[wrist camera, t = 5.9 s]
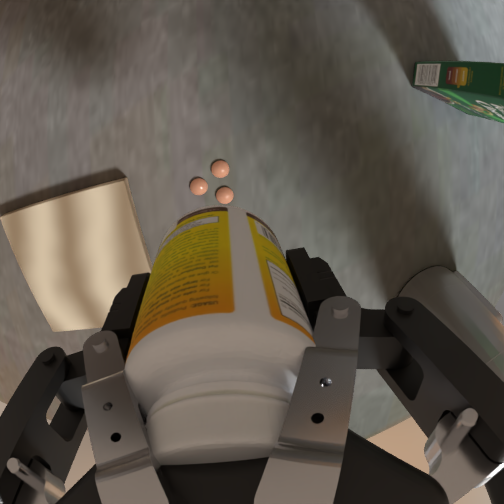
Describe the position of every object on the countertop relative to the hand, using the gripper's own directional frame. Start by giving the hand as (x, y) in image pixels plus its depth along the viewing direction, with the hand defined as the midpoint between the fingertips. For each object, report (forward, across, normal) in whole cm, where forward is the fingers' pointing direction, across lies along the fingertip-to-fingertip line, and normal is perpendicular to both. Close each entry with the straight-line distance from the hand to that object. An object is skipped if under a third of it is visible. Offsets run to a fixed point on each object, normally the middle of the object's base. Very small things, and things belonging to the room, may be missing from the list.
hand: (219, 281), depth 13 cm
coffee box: (+15, -22, -7) cm, 27 cm away
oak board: (+14, +14, +5) cm, 21 cm away
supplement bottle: (+2, 0, 0) cm, 2 cm away
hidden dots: (+14, 0, 0) cm, 14 cm away
